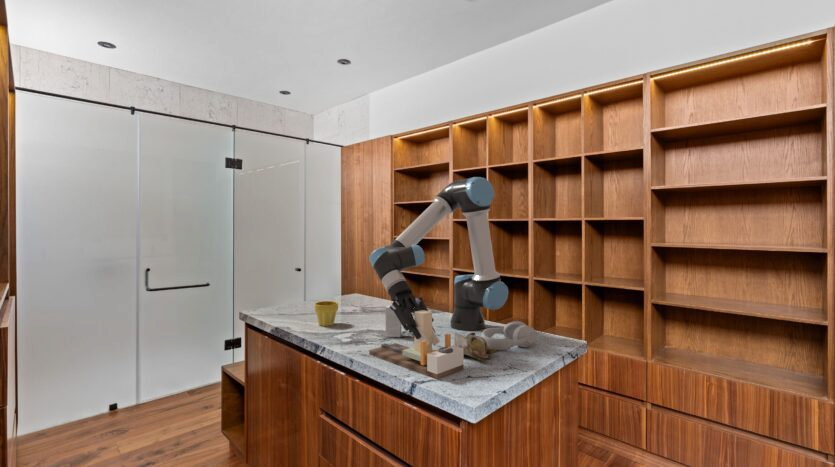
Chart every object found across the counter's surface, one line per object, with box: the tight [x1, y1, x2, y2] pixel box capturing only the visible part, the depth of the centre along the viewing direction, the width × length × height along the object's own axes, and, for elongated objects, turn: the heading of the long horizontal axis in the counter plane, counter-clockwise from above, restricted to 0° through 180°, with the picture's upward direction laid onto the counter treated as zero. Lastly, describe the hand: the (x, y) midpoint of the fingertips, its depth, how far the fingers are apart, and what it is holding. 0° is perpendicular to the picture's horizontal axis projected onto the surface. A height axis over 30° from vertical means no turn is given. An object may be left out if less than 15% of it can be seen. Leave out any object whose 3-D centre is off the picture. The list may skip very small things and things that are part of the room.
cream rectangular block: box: [427, 345, 464, 374], centre depth 122 cm, size 4×12×6 cm, turn 134°
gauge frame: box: [421, 333, 452, 365], centre depth 125 cm, size 1×12×7 cm, turn 135°
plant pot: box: [314, 300, 339, 327], centre depth 182 cm, size 10×10×10 cm
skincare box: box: [384, 305, 402, 338], centre depth 163 cm, size 6×4×12 cm
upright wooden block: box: [402, 310, 439, 361], centre depth 129 cm, size 10×9×15 cm
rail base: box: [368, 342, 464, 380], centre depth 132 cm, size 32×12×2 cm, turn 44°
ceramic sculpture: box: [454, 332, 501, 362], centre depth 137 cm, size 11×9×15 cm
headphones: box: [480, 320, 537, 351], centre depth 152 cm, size 18×8×20 cm
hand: (431, 344), depth 126 cm, fingers closed on upright wooden block, 4 cm apart
